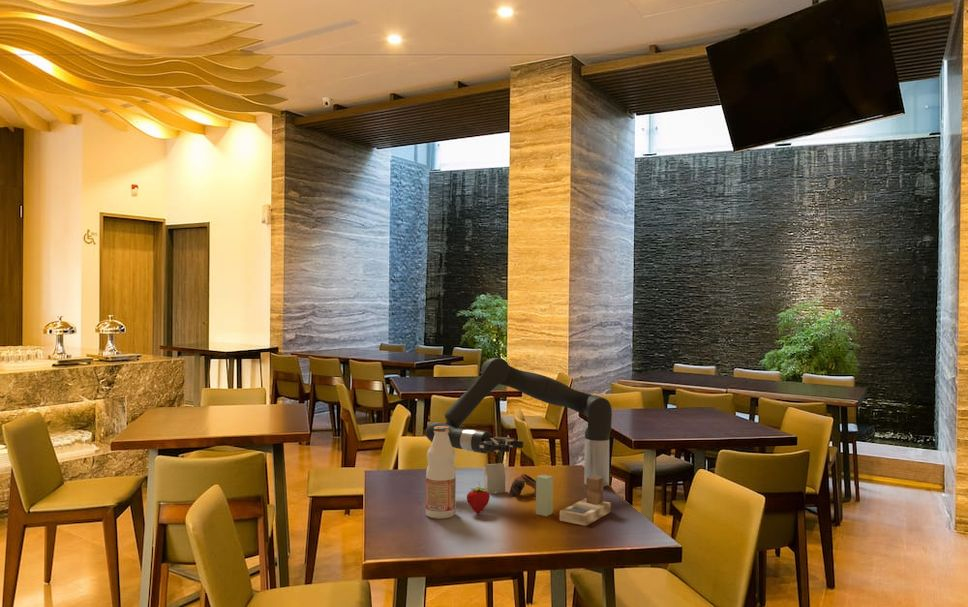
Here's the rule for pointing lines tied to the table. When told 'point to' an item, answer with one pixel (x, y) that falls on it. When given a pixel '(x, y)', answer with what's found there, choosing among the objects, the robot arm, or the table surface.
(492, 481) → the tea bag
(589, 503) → the base slab
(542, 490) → the pillar
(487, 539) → the table surface
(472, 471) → the table surface
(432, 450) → the fruit juice
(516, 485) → the pottery mug
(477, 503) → the strawberry
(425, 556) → the table surface
